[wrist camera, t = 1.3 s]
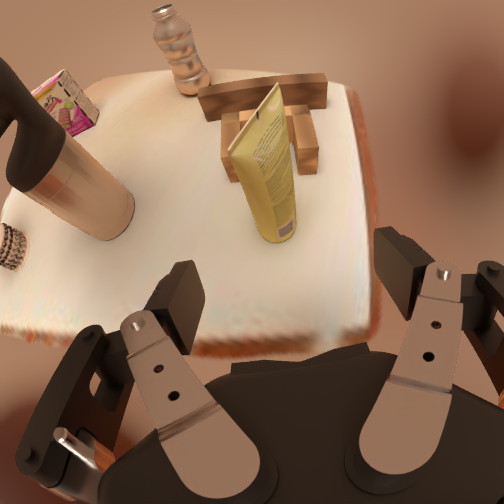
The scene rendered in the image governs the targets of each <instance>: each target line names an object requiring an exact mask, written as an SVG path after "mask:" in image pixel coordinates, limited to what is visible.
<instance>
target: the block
mask: <svg viewBox="0 0 504 504" xmlns="http://www.w3.org/2000/svg"><path fill="white" fill-rule="evenodd" d="M256 110H257V109H254V110H246V111H239V112H233V113H227V114H222V121H221V157H220V158H221V160H222V163H223V165H224V167H225V170H226V172H227V174H228V177H229V179H230V181H231V182H239V181H240V180H239V178H238V176H237V173H236V171H235V169H234V166H233V164H232V162H231V160H230V158H229V155H228V148H229V146H230V145H231V143H232V142H233V141H234V139H235V138H236V136H237V135H238V134H239V132H240V131H241V130H242V128H243V127H244V126H245V124H246V123H247V121H248V120H249V119H250V118H251V116H252V115H253V114H254V112H255V111H256ZM284 110H285V115H286V123H287V130H288V138H289V143H293V144H294V150H295V156H296V162H297V168H298V174H299V175H308V174H316V172H317V162H318V151H319V146H318V142H317V138H316V134H315V130H314V126H313V122H312V118H311V114H310V110H309V107H308V105H292V106H284Z"/></svg>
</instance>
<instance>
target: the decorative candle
mask: <svg viewBox="0 0 504 504" xmlns="http://www.w3.org/2000/svg"><path fill="white" fill-rule="evenodd" d="M28 252H29V238H28V236H27V235H26V234H24V233H23V234H22V232H20V231H17V229H16V230H15V228H13V229H12V227H11V226H7V224H4V223H2V224H1V223H0V265H1V264H2V266H3V267H5V268H8V269H10V270H14V271H19V270H20V269H21V268H22V267H23V265H24V263H25V262H26V259H27V256H28Z"/></svg>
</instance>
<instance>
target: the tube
mask: <svg viewBox="0 0 504 504" xmlns="http://www.w3.org/2000/svg"><path fill="white" fill-rule="evenodd" d="M228 155H229V158H230V160H231V162H232V164H233V166H234V169H235V171H236V173H237V176H238V178H239V180H240V183H241V185H242V188H243V190H244V193H245V195H246V198H247V201H248V203H249V206H250V209H251V211H252V214H253V217H254V220H255V222H256V225H257V228H258V230H259V233H260V234H261V236H262V237H263V238H265V239H266V240H268V241H270V242H282V241H285V240H287V239H288V238H290V237H291V236H292V234H293V233H294V231H295V228H296V208H295V193H294V182H293V171H292V162H291V153H290V145H289V138H288V130H287V123H286V115H285V110H284V104H283V99H282V94H281V90H280V87H279V83H278V82H277V83H276V85H275V86H274V87H273V88H272V90H271V91H270V92H269V94H268V95H267V96H266V97H265V99H264V100H263V101H262V103H261V104H260V106H259V107H258V108H257V110H256V111H255V112H254V114H253V115H252V116H251V118H250V119H249V120H248V121H247V123H246V124H245V126H244V127H243V128H242V130H241V131H240V132H239V134H238V135H237V136H236V138H235V139H234V141H233V142H232V143H231V145H230V146H229V148H228Z"/></svg>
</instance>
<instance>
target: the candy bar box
mask: <svg viewBox="0 0 504 504" xmlns="http://www.w3.org/2000/svg"><path fill="white" fill-rule="evenodd" d="M31 94H32V96H33V97H34V98H35V99H36V100H37V102H38V103H39V104H40V105H41V106H42V107H43V108H44V109H45V110H46V111H47V112H48V113H49V114H50V115H51V116H52V117H53V118H54V119H55V120H56V121H57V122H58V123H59V124H60V125H61V126H62V127H63V128H64V129H65V130H66V131H67V132H68V133H69V134H70V135H71V136H72V137H73V136H75V135H76V134H78V133H80V132H82V131H84V130H86V129H88V128H90V127H92V126H94V125H95V124H96V121H97V118H98V115H99V111H98V110H97V109H96V108H95V106H94V105H93V104H92V103H91V101H90V100H89V99H88V98H87V96H86V95H85V94H84V93H83V91H82V90H81V89H80V87H79V86H78V85H77V84H76V82H75V81H74V80H73V78H72V77H71V76H70V75H69V73H68V72H67V71H66V70H65V69H63V70H61V71H60V72H58V73H57V74H55V75H54V76H52V77H51V78H50V79H48V80H47V81H45V82H44V83H42V84H41V85H40V86H38V87H37V88H36V89H35V90H33V91H32V92H31Z"/></svg>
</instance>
